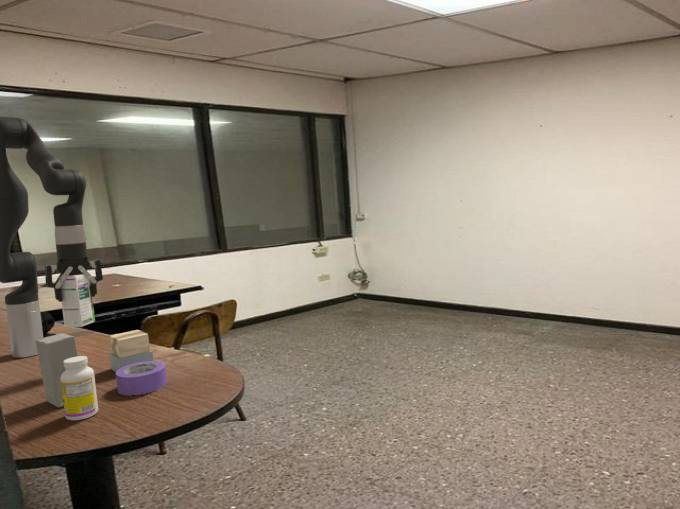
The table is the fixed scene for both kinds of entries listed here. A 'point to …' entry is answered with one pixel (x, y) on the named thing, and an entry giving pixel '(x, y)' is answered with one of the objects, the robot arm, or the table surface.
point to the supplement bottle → (78, 389)
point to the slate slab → (129, 360)
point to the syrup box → (77, 301)
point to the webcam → (47, 324)
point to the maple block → (129, 343)
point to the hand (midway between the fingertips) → (76, 298)
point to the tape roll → (141, 378)
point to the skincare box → (54, 363)
